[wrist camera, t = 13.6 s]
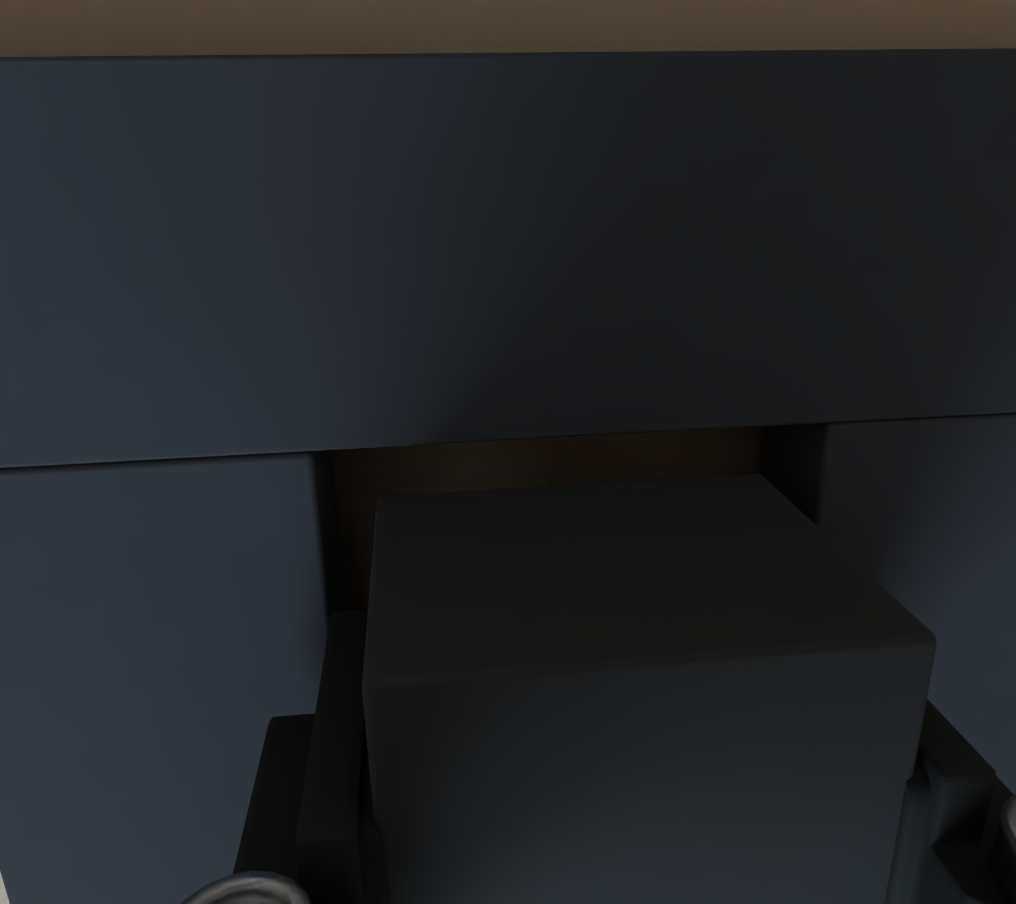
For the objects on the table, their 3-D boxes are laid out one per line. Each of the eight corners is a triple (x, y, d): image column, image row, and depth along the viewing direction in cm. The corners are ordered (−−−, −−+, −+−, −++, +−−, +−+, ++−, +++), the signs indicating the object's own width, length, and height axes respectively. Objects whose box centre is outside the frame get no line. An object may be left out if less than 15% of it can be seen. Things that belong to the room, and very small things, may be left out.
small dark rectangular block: (376, 494, 11) (360, 683, 7) (760, 470, 11) (942, 636, 7) (405, 864, 13) (405, 1165, 9) (728, 830, 13) (857, 1103, 9)
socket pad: (-119, 75, 10) (-240, 58, 8) (1129, 62, 12) (1269, 45, 10) (119, 1032, 15) (79, 1154, 13) (945, 934, 17) (1012, 1032, 15)
